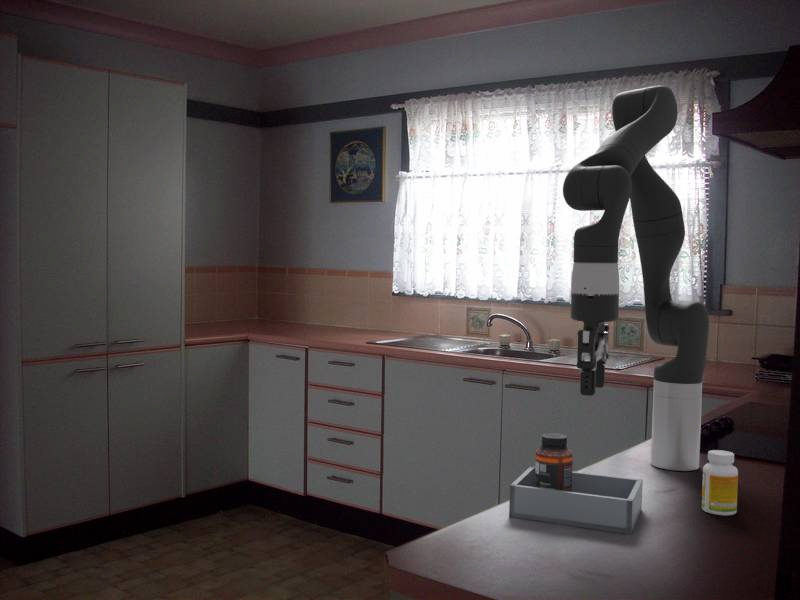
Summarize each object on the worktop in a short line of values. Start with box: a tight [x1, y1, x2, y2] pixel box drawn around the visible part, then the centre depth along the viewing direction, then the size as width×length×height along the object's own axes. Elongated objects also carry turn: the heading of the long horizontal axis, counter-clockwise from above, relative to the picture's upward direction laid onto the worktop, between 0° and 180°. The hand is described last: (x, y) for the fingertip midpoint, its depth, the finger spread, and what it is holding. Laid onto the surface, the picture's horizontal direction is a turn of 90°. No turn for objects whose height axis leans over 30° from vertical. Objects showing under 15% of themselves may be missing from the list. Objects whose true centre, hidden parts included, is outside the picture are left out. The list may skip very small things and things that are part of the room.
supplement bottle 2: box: [701, 449, 739, 516], centre depth 134 cm, size 5×5×10 cm
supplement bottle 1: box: [534, 432, 573, 492], centre depth 133 cm, size 6×6×11 cm
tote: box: [508, 466, 644, 535], centre depth 131 cm, size 14×19×5 cm
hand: (592, 391), depth 133 cm, fingers open, 8 cm apart
